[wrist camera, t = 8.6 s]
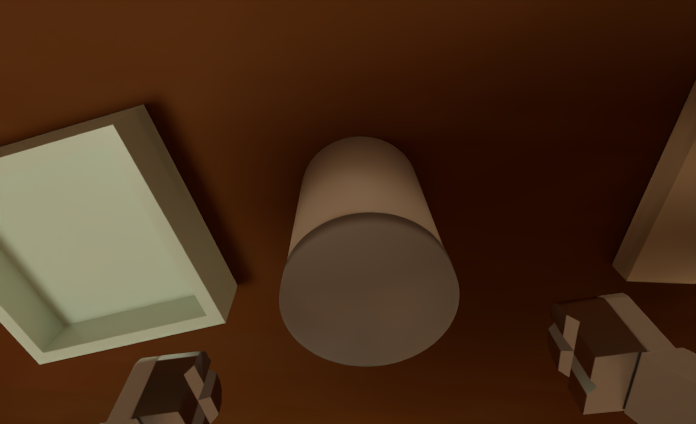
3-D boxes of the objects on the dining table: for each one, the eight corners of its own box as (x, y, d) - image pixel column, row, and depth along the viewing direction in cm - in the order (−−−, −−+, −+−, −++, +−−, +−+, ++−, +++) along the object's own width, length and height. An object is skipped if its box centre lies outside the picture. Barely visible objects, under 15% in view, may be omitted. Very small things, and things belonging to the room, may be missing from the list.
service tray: (237, 285, 20) (225, 322, 18) (70, 325, 22) (39, 364, 19) (143, 104, 16) (112, 124, 14) (-62, 165, 17) (-120, 192, 15)
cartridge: (388, 255, 20) (410, 382, 14) (284, 220, 19) (257, 341, 13) (439, 161, 17) (494, 262, 11) (324, 116, 16) (314, 200, 10)
